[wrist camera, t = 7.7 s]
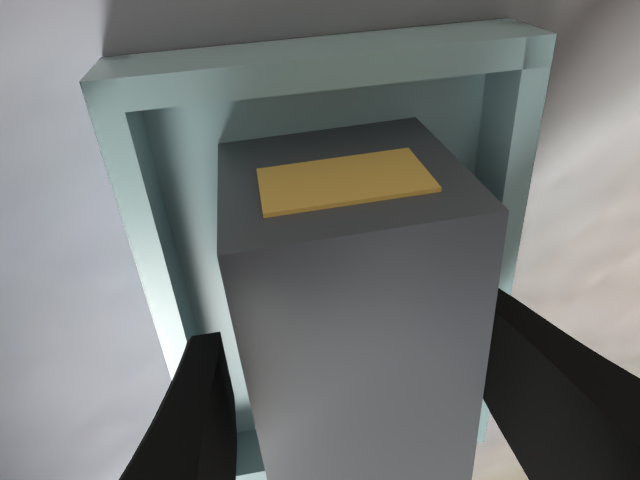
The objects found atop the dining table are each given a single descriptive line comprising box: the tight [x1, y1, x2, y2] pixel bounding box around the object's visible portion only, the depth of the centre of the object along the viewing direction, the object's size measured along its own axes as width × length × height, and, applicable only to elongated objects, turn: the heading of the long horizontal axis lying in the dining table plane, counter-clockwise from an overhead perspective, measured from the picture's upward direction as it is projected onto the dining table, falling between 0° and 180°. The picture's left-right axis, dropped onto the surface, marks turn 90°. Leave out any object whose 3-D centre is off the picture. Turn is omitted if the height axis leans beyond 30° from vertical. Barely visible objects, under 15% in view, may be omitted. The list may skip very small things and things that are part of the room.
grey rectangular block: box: [217, 117, 509, 480], centre depth 12 cm, size 8×4×4 cm, turn 4°
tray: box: [80, 18, 557, 480], centre depth 13 cm, size 12×9×2 cm
